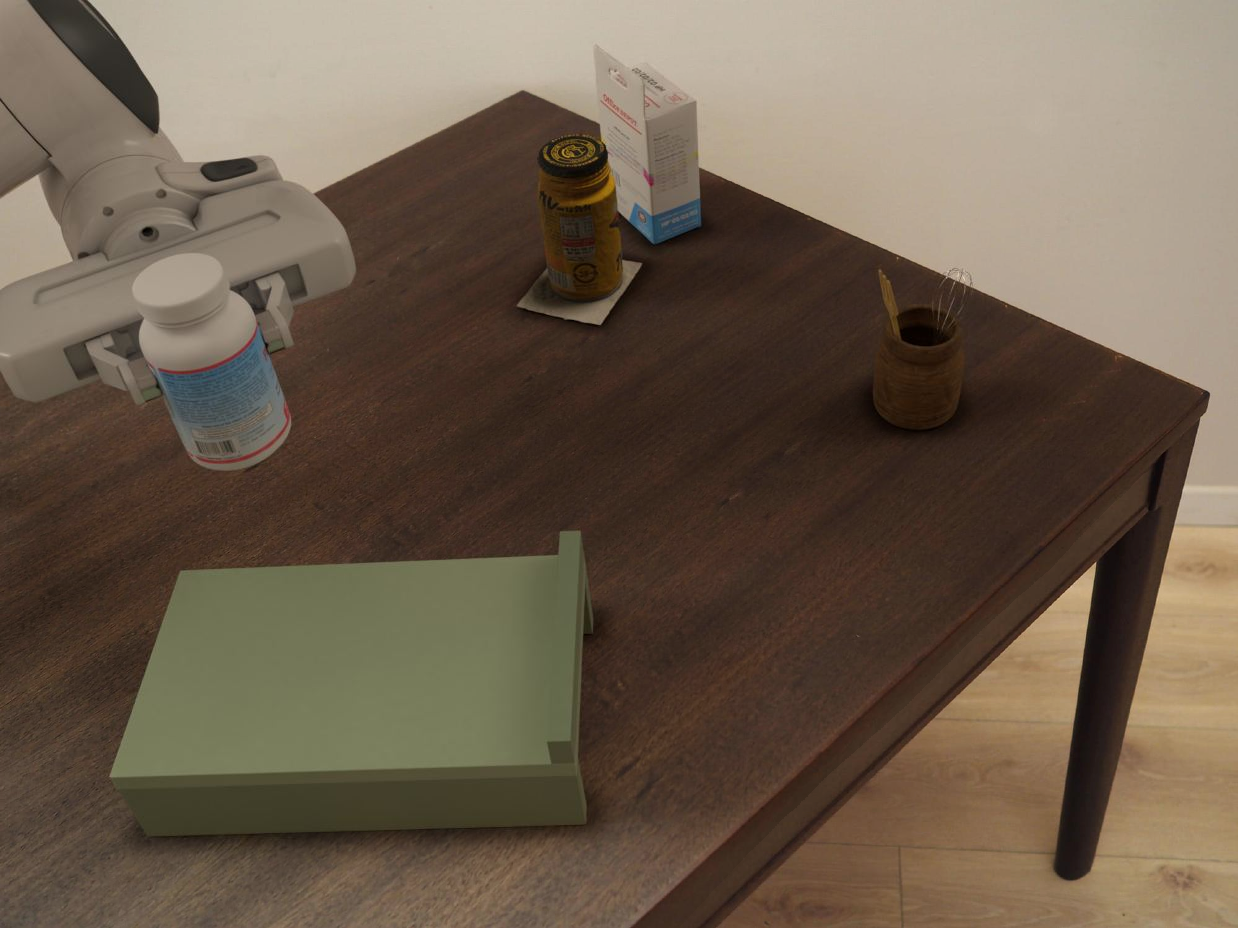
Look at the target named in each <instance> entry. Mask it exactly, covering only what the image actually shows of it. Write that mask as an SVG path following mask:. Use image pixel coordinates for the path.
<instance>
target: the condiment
mask: <svg viewBox="0 0 1238 928" xmlns="http://www.w3.org/2000/svg"><path fill="white" fill-rule="evenodd" d="M537 164H538V166H539V172H538V179H539V181H538V183H537V187H536V195H537V203H538V210H539V217H540V225H541V233H542V241H543V247H544V254H545V262H546V269H545V270H544V271H543V272H542V274H540V275H539V276H538V278H537V279H536V280H535V281H534V283H533V285H532V286H531V287H529V289H528V291H527V292H526V294H525V295H524V296H523V297H522V298H521V299H520V300H519V302H518V303H517V304H516V307H519V308H521V309H526V310H528V311H532V312H535V313H539V314H545V315H548V316H551V317H558V318H562V319H563V320H565V321H566V320H574V321H577V322H580V323H585V324H587V323H588V324H593V325H597V326H602V324H603V322H604V321H605V319H606V318H607V316H608V315H609V314H610V311H612V309H613V307H614V306H615V305H616V303H617V302H618V300H619V299H620V297H621V296H622V295H623V294H624V292H625V291H626V290H627V288H628V287H629V285H630V283H631V282H632V280H633V279H635V276H636V274H637V273H638V272H639V270H640V269H641V267H642V266H643V262H637V261H631V260H625V259H623V252H622V251H623V250H622V241H621V232H620V219H619V212H618V204H617V196H616V193H617V191H616V185H615V179H614V177H613V175H612V174H611V172H610V165H609V161H608V152H607V149H606V145H605V144H604V143H603V142H602V141H601V139H599V138H598V137H595V136H592V135H589V134H582V133H576V134H574V133H573V134H572V133H571V134H565V135H561V136H559V137H555V138H553V139H550V140H549V141H548V142H547V143H545V144H544V145H542V147H541V148H540V150H539V151H538V156H537Z"/></svg>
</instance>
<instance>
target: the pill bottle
mask: <svg viewBox="0 0 1238 928" xmlns="http://www.w3.org/2000/svg"><path fill="white" fill-rule="evenodd" d="M229 289H230V285H229V281H228V279H227V278H226V276H225V273H224V270H223V268H222V266H221V264H220V263H219V261H217V260H216V259H215V258H213V257H211V256H209V255H205V254H200V253H185V254H179V255H174V256H170V257H167V258H164V259H162V260H159V261H157V262H155V263H153V264H152V265H150V266H149V267H147V268H146V269H145V270H143V271H142V272H141V273H140V274H139V275H138V277H137V278H136V279H135V281H134V284H133V287H132V292H133V296H134V299H135V301H136V303H137V306H138V310H139V312H140V314H141V315H142V316H143V317H144V320H143V322H142V324H141V327H140V331H139V343H140V347H141V350H142V352H143V355H144V357H145V359H146V362H147V364H148V366H149V368H150V369H151V370H152V372H153V374H154V376H155V379H156V381H157V385H158V386H159V388H160V390H161V393H162V395H163V396H161V398H162V400H163V403H164V404H165V407H166V409H167V411H168V413H169V415H170V418H171V420H172V422H173V425H174V427H175V430H176V432H177V434H178V436H179V438H180V440H181V443H182V446H183V447H184V449H185V452H186V453H187V455H188V456H189V457H190V459H191V460H192V461H193V462H195V463H196V464H197V465H199V466H200V467H203V468H205V469H209V470H213V471H224V472H228V471H237V470H243V469H247V468H249V467H252V466H254V465H257V464H259V463H261V462H262V461H264V460H266V459H267V458H269V457H270V456H272V454H274V453H275V452H276V451H277V450H278V449H279V448H280V447H281V446H282V445H283V444H284V442H285V441H286V439H287V438H288V435H289V434H290V431H291V429H292V428H291V427H292V416H291V412H290V410H289V406H288V404H287V401H286V398H285V395H284V392H283V390H282V387H281V384H280V381H279V379H278V376H277V372H276V370H275V367H274V365H273V362H272V359H271V357H270V355H269V354H268V351H267V349H266V346H265V342H264V340H263V338H262V335H261V332H260V329H259V326H258V323H257V320H256V317H255V315H254V313H253V310H252V308H251V306H250V305H249V304H248V302H247V301H246V300H245V299H244V298H243V297H241V296H240V295H239V294H237V293H235V292H233V291H231V290H229Z"/></svg>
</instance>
